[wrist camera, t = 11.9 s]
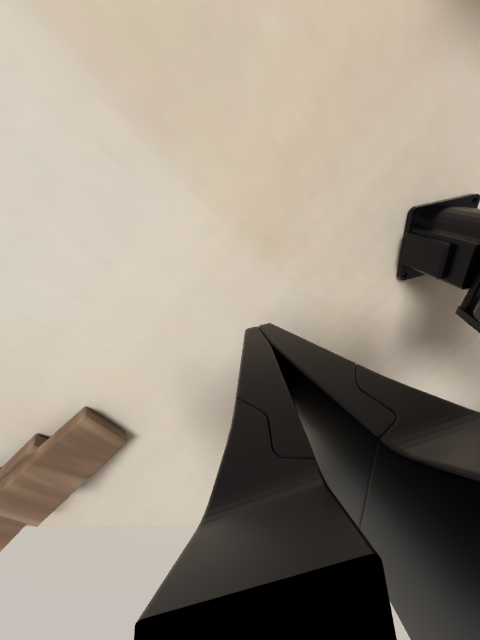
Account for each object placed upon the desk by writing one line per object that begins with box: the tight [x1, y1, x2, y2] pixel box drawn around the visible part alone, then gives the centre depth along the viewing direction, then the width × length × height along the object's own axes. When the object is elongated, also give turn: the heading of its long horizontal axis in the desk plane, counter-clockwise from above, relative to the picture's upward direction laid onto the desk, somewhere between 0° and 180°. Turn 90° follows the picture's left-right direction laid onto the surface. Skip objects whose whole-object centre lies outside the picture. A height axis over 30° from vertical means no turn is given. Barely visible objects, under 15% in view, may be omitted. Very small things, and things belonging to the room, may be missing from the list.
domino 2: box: [0, 434, 48, 551], centre depth 25 cm, size 2×5×10 cm
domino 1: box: [0, 406, 127, 527], centre depth 24 cm, size 2×5×10 cm
